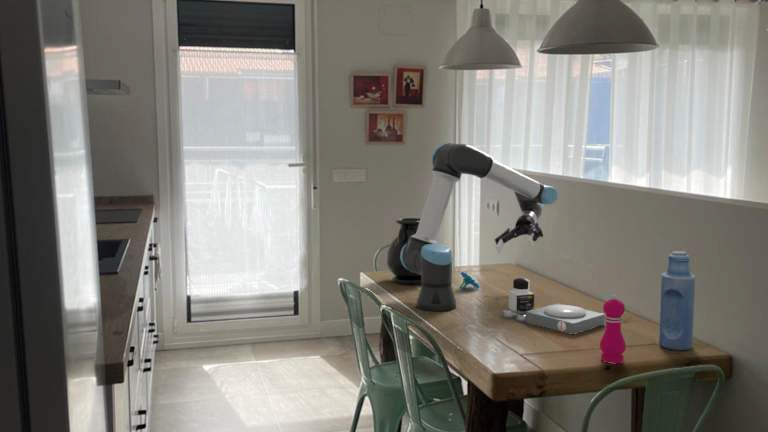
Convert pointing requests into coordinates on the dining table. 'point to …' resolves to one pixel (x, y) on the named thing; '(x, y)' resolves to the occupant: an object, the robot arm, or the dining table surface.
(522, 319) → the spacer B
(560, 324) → the scale
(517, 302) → the medicine bottle
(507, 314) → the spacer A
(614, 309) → the pepper mill
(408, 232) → the amphora vase
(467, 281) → the gear
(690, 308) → the bottle
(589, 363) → the dining table surface
